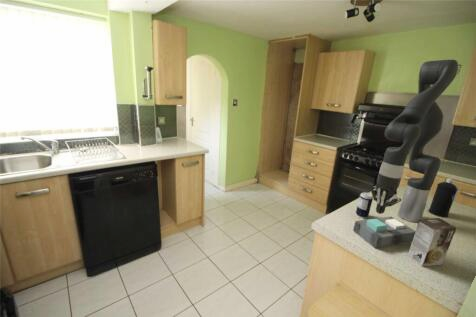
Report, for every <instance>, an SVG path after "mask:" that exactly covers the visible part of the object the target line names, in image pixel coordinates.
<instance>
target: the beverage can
mask: <svg viewBox="0 0 476 317" xmlns="http://www.w3.org/2000/svg"><path fill="white" fill-rule="evenodd" d="M358 197H359V198H358V202H357V205H356V206H357V207H356V210H355V214H356V215H357V216H358V217H359V218H362V219H367V218H368V217H369V215H370V211H371V207H372V204H373V200H374V199H373V196H372V193H370V192H365V191H364V192H360V194H359V196H358Z"/></svg>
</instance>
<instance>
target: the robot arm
mask: <svg viewBox="0 0 476 317" xmlns="http://www.w3.org/2000/svg"><path fill="white" fill-rule="evenodd" d="M458 71H459V64H458V61H457V60H456V59H441V60H440V59H438V60H429V61H425V62H423V64H422V65H421V66H420V68H419V72H418V82H417V84H418V87H417V89H418V90H417V94H416V95H415V96H414V97H412V98H411V99H410V101H408V103H407V104H406V106H405V107H404V108H403V111H402V112H401V113H400V114H398V116H396V117H395V118H394V119H393V120H392V121H390V122H389V123H388V125H387V126H386V127H385V129H384V137H385V138H386V139H387V140H388V141H393V142H398V143H402V144H401V146H389V147H387V148H386V150H385V152H384V157H383V159H382V161H381V162H382V163H381V165H380V167H379V172H378V175H377V178H376V184H375V185H374V186H370V187H369V189H370V191H371V193H370V194H372V197H373V200H374V201H376V207H375V212H376V213H377V214H379V215H380V214H381V215H382V214H384V213H385V210H386V208H387V207H392V206H395V205H397V204H399V203H400V202H401V203H400V207H399V209H398V213H397V215H398V217H400V218H402V219H403V220H405V221H409V222H413V223H419V220H420V219H423V215H424V212H425V209H426V207H427V201H428V197H429V194H430V191H431V189H432V186H433V185H434V182H435V180H436V177H437V175H438V172H439V170H440V168H441V164H442V161H441V158H439V157H437V156H433V155H430V154H425V153H424V148H425V146H426V145H427V144H428V143H429V142H430V141H431V140H433V139H434V138H435V137H436V136H437V135H438V134H440V132H441V130H442V127H443V123H444V122H443V120H444V113H443V110H442V109H441V108H440V106H439V104H438V103H437V102H436V101H437V99H438V98H439V97H441V95H442V94H443V93H444V92H445V91H446V90H447V89H448V87H449V86H450V85H451V84H452V82H453V81H454V80H455V78H456V77H457V74H458ZM410 151H411V152H410ZM409 153H410V156H409V160H408V168H409V170H410V171H411V172H412V171H413V172H415V173H419V174H422V175H423V177H411V178H408V180H407V182H406V186H405V190H404V193H403V196H402V198H400V197H398V191H397V190H398V188H399V187H400V185H401V184H400V183H401V181H402V177H403V173H404V168H405V164H406V161H407V158H408V155H409Z"/></svg>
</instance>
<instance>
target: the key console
mask: <svg viewBox="0 0 476 317" xmlns="http://www.w3.org/2000/svg"><path fill="white" fill-rule="evenodd" d="M370 219H371V218H370ZM370 219H367V218H366V219H361V220H355V221H354V226H353V229H352V231H353V232H354V233H355V234H356V235H358V236H359V237H360V238H362V240H364V241H365V242H367V243H368V244H369V245H370V246H371V247H373V248H374V249H381V248H385V247H386V248H387V247H390V246H391V247H392V246H396V245H402V244H409V243H412V241H413V238H414V235H415V232H416V229H413V228H411V227H410V226H408V225H406V224H405V223H404V222H401V221H400V220H398V219H396V218H395V217H393V216H385V217H378V218H377V217H376V218H375V217H374V219H378V220H380V221H381V222H383V223H384V224H386V223H385V221H386V220H389V219H396V220H397V221H399V222H401V223H402V224H404V225H405V227H404V228H401V229H394V228H393V227H391V226H390V225H388V224H386V225H387V226H386V230H385V231H381V232H375V231H373V230H372V229H371V228H369V227H368V226H366V224H367V220H370Z"/></svg>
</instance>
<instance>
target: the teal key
mask: <svg viewBox="0 0 476 317" xmlns="http://www.w3.org/2000/svg"><path fill="white" fill-rule="evenodd" d="M366 220H367V219H366ZM366 226H368V227H369V228H371V229H372V230H373V231H375V232H381V231H385V230H386V226H387V225H386V224H384V223H383V222H381V221H380V220H378V219H375V218H370V220H367V224H366Z"/></svg>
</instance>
